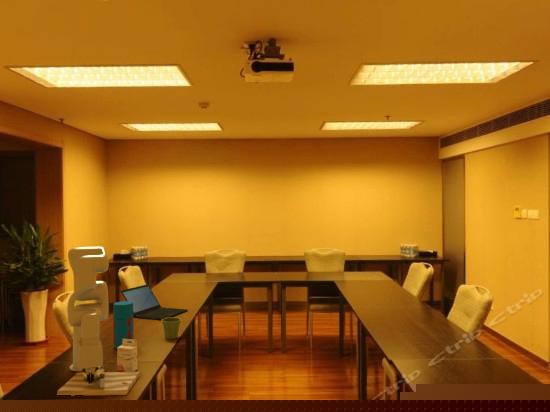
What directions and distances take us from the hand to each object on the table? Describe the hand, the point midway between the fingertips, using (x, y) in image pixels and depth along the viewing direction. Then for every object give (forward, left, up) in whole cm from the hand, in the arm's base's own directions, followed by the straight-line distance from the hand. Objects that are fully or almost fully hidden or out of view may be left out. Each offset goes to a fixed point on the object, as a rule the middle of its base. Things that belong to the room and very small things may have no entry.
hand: (90, 382), depth 202 cm
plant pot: (-80, +20, -3) cm, 82 cm away
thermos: (-63, -4, -3) cm, 63 cm away
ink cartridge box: (-24, +9, -3) cm, 26 cm away
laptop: (-146, -4, -4) cm, 146 cm away
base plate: (-5, +3, -3) cm, 7 cm away
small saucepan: (-4, +1, -1) cm, 4 cm away
